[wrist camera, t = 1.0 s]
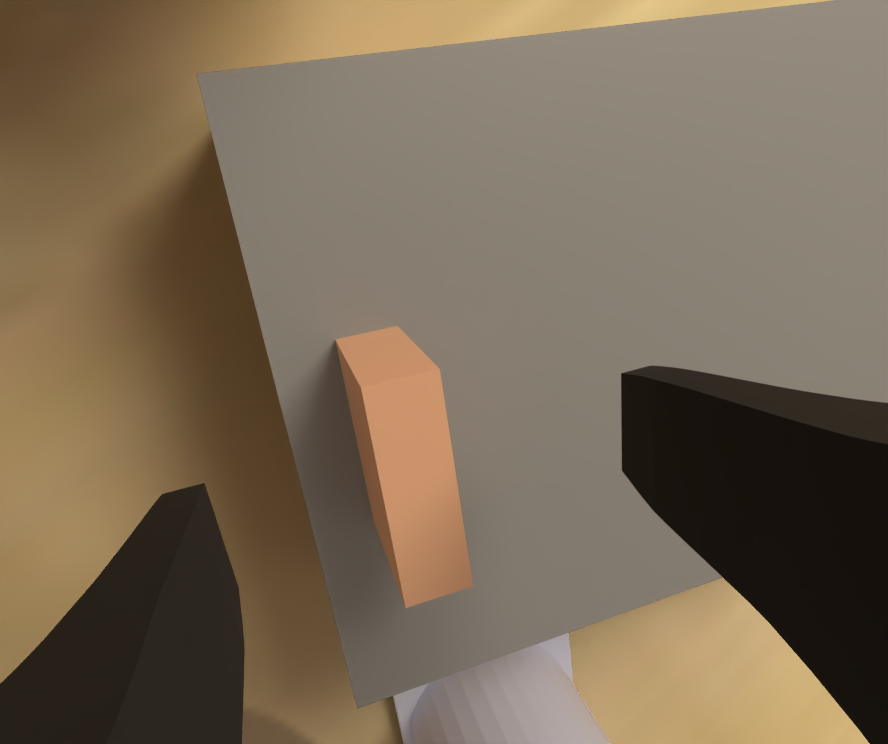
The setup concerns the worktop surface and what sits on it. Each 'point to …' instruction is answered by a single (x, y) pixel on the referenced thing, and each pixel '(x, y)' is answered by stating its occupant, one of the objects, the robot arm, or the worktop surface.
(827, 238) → the carton lid
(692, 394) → the robot arm
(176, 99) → the worktop surface
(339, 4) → the worktop surface
